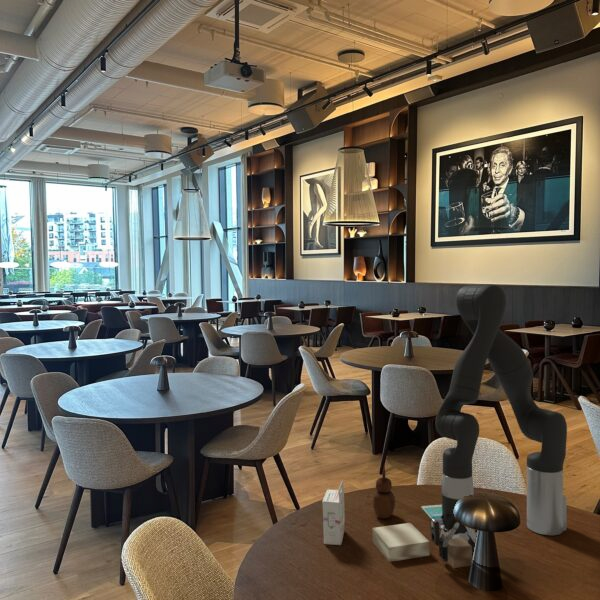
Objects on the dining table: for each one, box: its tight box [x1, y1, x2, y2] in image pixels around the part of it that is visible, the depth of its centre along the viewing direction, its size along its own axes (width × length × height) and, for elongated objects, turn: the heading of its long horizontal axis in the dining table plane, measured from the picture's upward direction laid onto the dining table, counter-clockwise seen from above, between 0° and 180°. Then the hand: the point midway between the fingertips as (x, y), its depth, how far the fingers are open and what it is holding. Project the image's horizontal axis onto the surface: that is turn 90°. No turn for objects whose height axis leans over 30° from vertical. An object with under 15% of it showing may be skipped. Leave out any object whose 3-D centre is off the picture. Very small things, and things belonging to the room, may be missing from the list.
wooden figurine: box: [372, 464, 396, 519], centre depth 161 cm, size 7×6×15 cm
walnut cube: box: [447, 537, 473, 569], centre depth 135 cm, size 5×5×5 cm
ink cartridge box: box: [321, 479, 346, 546], centre depth 148 cm, size 9×5×15 cm, turn 168°
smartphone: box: [421, 504, 444, 531], centre depth 160 cm, size 8×1×15 cm
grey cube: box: [452, 529, 475, 543], centre depth 146 cm, size 5×5×5 cm
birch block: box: [372, 522, 431, 563], centre depth 142 cm, size 11×11×4 cm
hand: (458, 557), depth 135 cm, fingers open, 7 cm apart
